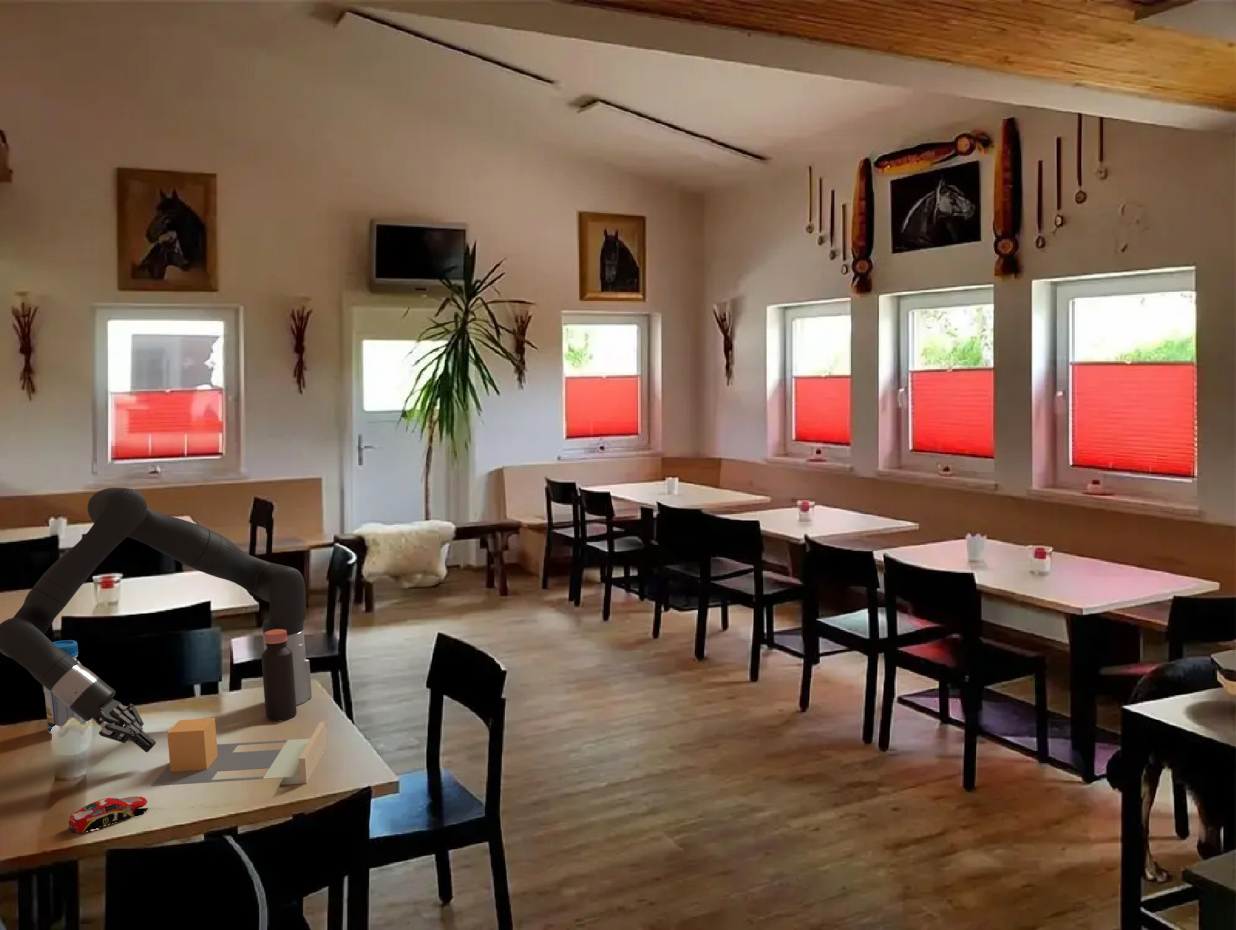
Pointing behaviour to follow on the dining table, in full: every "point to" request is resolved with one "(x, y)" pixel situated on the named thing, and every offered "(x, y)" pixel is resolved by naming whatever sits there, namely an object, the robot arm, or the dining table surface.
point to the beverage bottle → (54, 706)
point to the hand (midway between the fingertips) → (152, 747)
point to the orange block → (192, 744)
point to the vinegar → (278, 677)
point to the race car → (106, 813)
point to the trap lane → (259, 762)
